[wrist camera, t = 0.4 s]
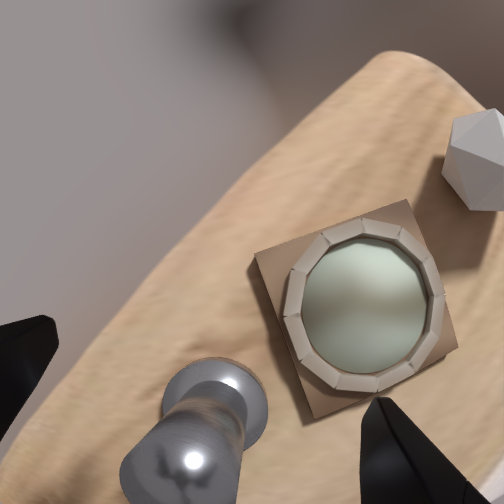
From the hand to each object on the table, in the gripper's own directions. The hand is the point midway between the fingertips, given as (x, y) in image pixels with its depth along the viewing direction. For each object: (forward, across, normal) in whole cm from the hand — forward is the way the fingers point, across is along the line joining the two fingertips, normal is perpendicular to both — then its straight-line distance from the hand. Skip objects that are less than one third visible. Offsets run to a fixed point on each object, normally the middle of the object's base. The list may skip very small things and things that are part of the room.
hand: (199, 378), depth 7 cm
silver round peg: (+10, 0, +12) cm, 15 cm away
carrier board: (+14, -8, +4) cm, 17 cm away
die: (+20, -17, -7) cm, 27 cm away
